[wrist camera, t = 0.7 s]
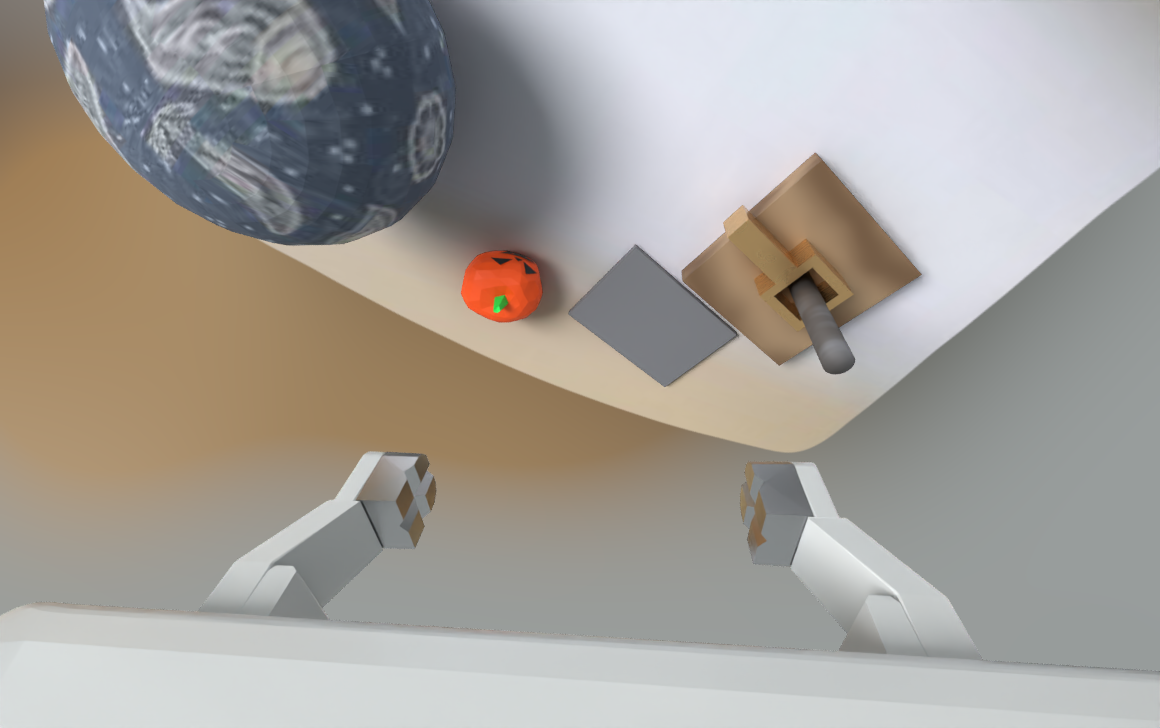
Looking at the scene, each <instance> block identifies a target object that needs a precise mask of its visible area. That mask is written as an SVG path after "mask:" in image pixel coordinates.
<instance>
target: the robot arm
mask: <svg viewBox="0 0 1160 728" xmlns="http://www.w3.org/2000/svg"><path fill="white" fill-rule="evenodd" d="M428 467H429V461H428V458H427V456H426V455H424V454H416V453H397V452H367V453H366V454H364V455H363V456H362V458H361V460H360V461H359V463H358V464H357V466H356V467H355V469H354V470H353V472H352V473H351V475H350V476H349V478H348V479H347V481H346V483H345V484H344V486H343V487H342V489H341V490H340V492H339V493H338V495H337V497H336V498H335V500H328V501H327V502H325V503H324V504H322V505H320V506H319V507H318V508H316V509H315V510H313V511H311V512H310V513H308V514H307V515H305V516H304V517H302V518H301V519H299V520H298V521H296V522H295V523H293V524H292V525H290V526H288V527H287V528H286V529H284V530H282V531H281V532H279V533H278V534H276V535H275V536H273V537H272V538H270V539H269V540H267V541H266V542H264V543H262V544H261V545H260V546H258V547H256V548H255V549H253V550H252V551H250V552H249V553H248V554H246V555H244V556H243V557H241V558H240V559H238V560H237V561H235V563H234V564H233V565H232V566H231V568H230V569H229V570H228V572H227V573H226V574H225V576H224V577H223V578H222V580H221V581H220V582H219V583H218V585H217V586H216V587H215V589H214V590H213V591H212V593H211V594H210V595H209V597H208V598H207V599H206V601H205V602H204V603H203V605H202V606H201V607H200V608H199V610H198V611H197V612H196V611H180V610H164V609H148V608H147V609H146V608H131V607H115V606H100V605H99V606H98V605H83V604H69V603H57V602H35V603H31V604H26V605H23V606H20V607H17V608H15V609H13V610H11V611H9V612H7V613H4V614H2V615H0V728H1160V671H1152V670H1136V669H1119V668H1102V667H1086V666H1069V665H1054V664H1038V663H1021V662H1004V661H988V660H983V659H982V657H981V655H980V654H979V652H978V650H977V648H976V647H975V645H974V643H973V642H972V640H971V638H970V636H969V635H968V633H967V631H966V629H965V628H964V626H963V624H962V622H961V621H960V619H959V617H958V615H957V614H956V612H955V610H954V608H953V607H952V605H951V603H950V601H949V600H948V598H947V597H946V596H944V595H943V594H942V593H941V592H939V591H938V590H937V589H936V588H934V587H933V586H932V585H931V584H929V583H928V582H927V581H926V580H924V579H923V578H922V577H920V576H919V575H918V574H917V573H915V572H914V571H913V570H912V569H910V568H909V567H908V566H907V565H905V564H904V563H903V562H901V561H900V560H899V559H898V558H896V557H895V556H894V555H893V554H891V553H890V552H889V551H887V550H886V549H885V548H884V547H882V546H881V545H880V544H879V543H877V542H876V541H875V540H874V539H872V538H871V537H870V536H869V535H867V534H866V533H865V532H863V531H862V530H861V529H860V528H858V527H857V526H856V525H855V524H853V523H852V522H851V521H850V520H848V519H847V518H840V517H839V514H838V512H837V510H836V508H835V506H834V504H833V501H832V499H831V497H830V495H829V493H828V490H827V488H826V486H825V484H824V482H823V479H822V477H821V475H820V473H819V471H818V469H817V466H816V465H815V464H814V463H813V462H757V461H756V462H755V461H750V462H747V464H746V468H745V472H744V473H745V477H746V482H745V483H744V484H742V486H741V493H740V509H741V516H742V520H743V524H745V525H746V526H747V527H748V528H749V533H748V538H747V541H748V544H749V549H750V553H751V557H752V561H753V564H759V565H773V566H787V567H791V570H792V571H793V572H794V573H795V574H796V575H797V577H798V578H799V579H800V580H801V581H802V583H803V584H804V585H805V586H806V587H807V588H808V589H809V591H810V592H811V593H812V594H813V595H814V596H815V597H816V599H817V600H818V601H819V602H820V603H821V604H822V605H823V607H824V608H825V609H826V610H827V611H828V612H829V614H830V615H831V616H832V617H833V618H834V619H835V621H837V623H838V624H839V625H840V626H841V627H842V629H843V630H844V631H845V632H846V633H847V636H846V638H845V639H844V641H843V643H842V645H841V647H840V649H839V651H827V650H810V649H795V648H777V647H762V646H746V645H730V644H713V643H697V642H681V641H664V640H649V639H648V640H647V639H632V638H616V637H599V636H583V635H566V634H551V633H550V634H549V633H534V632H517V631H501V630H485V629H468V628H452V627H437V626H421V625H405V624H403V625H402V624H388V623H372V622H356V621H340V620H330V619H329V617H328V616H327V614H326V613H325V611H324V610H323V607H324V606H325V605H326V604H327V603H328V602H329V601H330V600H331V599H332V598H333V597H334V596H335V595H337V594H338V593H339V592H340V591H341V590H342V589H343V588H344V587H345V586H346V585H347V584H348V583H349V582H350V581H351V580H352V579H353V578H354V577H355V576H356V575H357V574H359V573H360V572H361V571H362V570H363V569H364V568H365V567H366V566H367V565H368V564H369V563H370V562H371V561H372V560H373V559H374V558H375V557H376V556H377V555H379V553H381V552H382V551H383V548H397V549H415V548H416V545H417V543H418V541H419V538H420V536H421V533H422V531H423V529H424V527H425V526H424V523H423V520H422V518H424V517H425V516H426V515H427V514H429V513H430V512H431V510H432V508H433V505H434V502H435V496H436V482H435V479H434V476H433V475H432V474H431V473H429V472H428V471H427V469H428Z"/></svg>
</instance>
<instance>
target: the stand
mask: <svg viewBox="0 0 1160 728" xmlns="http://www.w3.org/2000/svg"><path fill="white" fill-rule="evenodd" d="M749 212H750V213H751V214H752V215H753V216H754V217H755V218H756V219H757V220H758V221H759V222H760V223H761V224H762V225H763V226H764V227H765V228H766V229H767V230H768V231H769V232H770V233H771V234H772V235H773V236H774V237H775V238H776V239H777V240H778V241H779V242H780V243H781V244H782V245H783V246H784V247H785V248H786V249H787V250H788V251H791V250H792V249H793V248H794V247H796V246H797V245H798V244H800V243H801V242H802V241H803V240H805V239H807V240H808V241H809V242H810V243H811V244H812V245H813V246H814V248H815V249H816V250H817V251H818V252H819V253H820V254H821V255H822V256H823V257H824V258H825V259H826V260H827V261H828V262H829V263H830V264H831V265H832V266H833V267H834V268H835V269H836V270H837V272H838V273H839V274H840V275H841V276H842V277H843V278H844V280H845V281H846V283H847V285H848V286H849V288H850V289H851V291H852V292H853V294H854V295H852V296H851V297H849V298H848V299H846V300H845V301H843V302H842V303H840V304H839V305H837V306H836V307H834V308H833V309H831V310H830V311H829V309H828V307H827V305H826V303H825V301H824V299H823V298H822V296H821V294H820V292H819V290H818V288H817V285H818V284H820V283H821V282H823V281H824V279H823V278H822V277H821V276H820V275H819V274H818V273H817V272H816V271H815V270H814V269H813V268H811V269H810V270H809V271H807V272H806V273H804V274H803V275H802V276H800V277H799V278H798V279H796V280H795V281H794V282H792V283H791V284H790V285H788V286H787V287H786V288H784V289H783V290H781V291H780V292H781V293H782V294H784V295H785V296H786V297H787V298H788V299H789V300H790V301H791V302H792V303H793V302H795V305H796V307H797V309H798V312H799V314H800V316H801V318H802V321H803V323H804V325H805V327H804V328H803V329H801V330H800V331H798V332H797V331H796V330H795V329H794V328H793V327H792V326H791V325H790V324H789V323H788V322H786V321H785V320H784V319H783V318H782V317H781V316H780V315H779V314H778V313H777V312H776V311H775V310H774V309H773V308H771V307H770V306H769V305H768V304H767V303H766V302H765V301H764V300H763V299H762V298H761V297H760V296H759V293H758V290H757V287H756V284H755V281H754V279H755V278H756V277H757V276H759V275H760V274H761V273H762V272H763V271H762V270H761V269H759V268H758V267H757V266H756V265H755V264H754V263H753V262H752V261H751V260H750V259H749V258H748V257H747V256H746V255H745V254H744V253H743V252H742V251H741V250H740V249H739V248H738V247H737V246H736V245H734V244H733V243H732V242H731V241H730V240H729V239H728V238H727V235H726V232H725V233H724V234H723V235H722V236H720V237H719V238H718V239H717V240H716V241H715V242H714V243H713V244H711V245H710V246H709V247H708V248H707V249H706V250H705V251H704V252H702V253H701V254H700V255H699V256H698V257H697V258H696V259H694V260H693V261H692V262H691V263H690V264H689V265H688V266H687V267H685V268H684V269H683V270H682V280H683V282H684V283H685V284H686V285H688V286H689V287H690V288H691V289H692V290H693V291H694V292H696V293H697V294H698V295H699V296H700V297H701V298H702V299H704V300H705V301H706V302H707V303H708V304H709V305H710V306H712V307H713V308H714V309H715V310H716V311H717V312H718V313H720V314H721V315H722V316H723V317H724V318H725V319H726V320H728V321H729V322H730V323H731V324H732V325H733V326H734V327H736V328H737V329H738V330H739V331H740V332H741V333H742V334H744V335H745V336H746V337H747V338H748V339H749V340H750V341H752V342H753V343H754V344H755V345H756V346H757V347H758V348H760V349H761V350H762V351H763V352H764V353H765V354H766V355H768V356H769V357H770V358H771V359H772V360H773V361H774V362H776V363H777V364H778V365H779V366H780V365H781V364H783V363H784V362H786V361H787V360H789V359H791V358H792V357H794V356H795V355H797V354H798V353H800V352H802V351H803V350H805V349H806V348H808V347H809V346H811V345H813V346H814V348H815V350H816V353H817V355H818V357H819V360H820V362H821V364H822V367H823V369H824V370H825V371H826V372H827V373H830V374H841V373H844V372H846V371H848V370H849V369H851V368H852V366H853V365H854V363H855V358H854V356H853V354H852V352H851V350H850V348H849V346H848V345H847V343H846V341H845V339H844V337H843V335H842V333H841V331H840V329H839V327H841V326H842V325H844V324H845V323H847V322H849V321H850V320H852V319H853V318H855V317H856V316H858V315H859V314H861V313H863V312H864V311H866V310H867V309H869V308H870V307H872V306H874V305H875V304H877V303H878V302H880V301H881V300H883V299H885V298H886V297H888V296H889V295H891V294H892V293H894V292H895V291H897V290H899V289H900V288H902V287H903V286H905V285H906V284H908V283H910V282H911V281H913V280H914V279H916V278H917V277H919V276H921V275H922V274H921V273H920V272H919V271H918V270H917V269H916V267H915V266H914V265H913V264H912V263H911V262H910V261H909V259H908V258H907V257H906V256H905V255H904V254H903V252H902V251H901V250H900V249H899V248H898V247H897V246H896V244H895V243H894V242H893V241H892V240H891V239H890V237H889V236H888V235H887V234H886V233H885V232H884V231H883V229H882V228H881V227H880V226H879V225H878V224H877V222H876V221H875V220H874V219H873V218H872V217H871V216H870V214H869V213H868V212H867V211H866V210H865V209H864V207H863V206H862V205H861V204H860V203H859V202H858V201H857V199H856V198H855V197H854V196H853V195H852V194H851V192H850V191H849V190H848V189H847V188H846V187H845V186H844V184H843V183H842V182H841V181H840V180H839V179H838V177H837V176H836V175H835V174H834V173H833V172H832V171H831V169H830V168H829V167H828V166H827V165H826V164H825V162H824V161H823V160H822V159H821V158H820V157H819V156H818V155H817V154H816V153H814V154H813V155H812V156H811V157H810V158H809V159H807V160H806V161H805V162H804V163H803V164H802V165H801V166H800V167H798V168H797V169H796V170H795V171H794V172H793V173H792V174H791V175H789V176H788V177H787V178H786V179H785V180H784V181H783V182H782V183H780V184H779V185H778V186H777V187H776V188H775V189H774V190H772V191H771V192H770V193H769V194H768V195H767V196H766V197H765V198H763V199H762V200H761V201H760V202H759V203H758V204H757V205H756V206H754V207H753V208H752V209H751V210H750V211H749Z"/></svg>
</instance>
